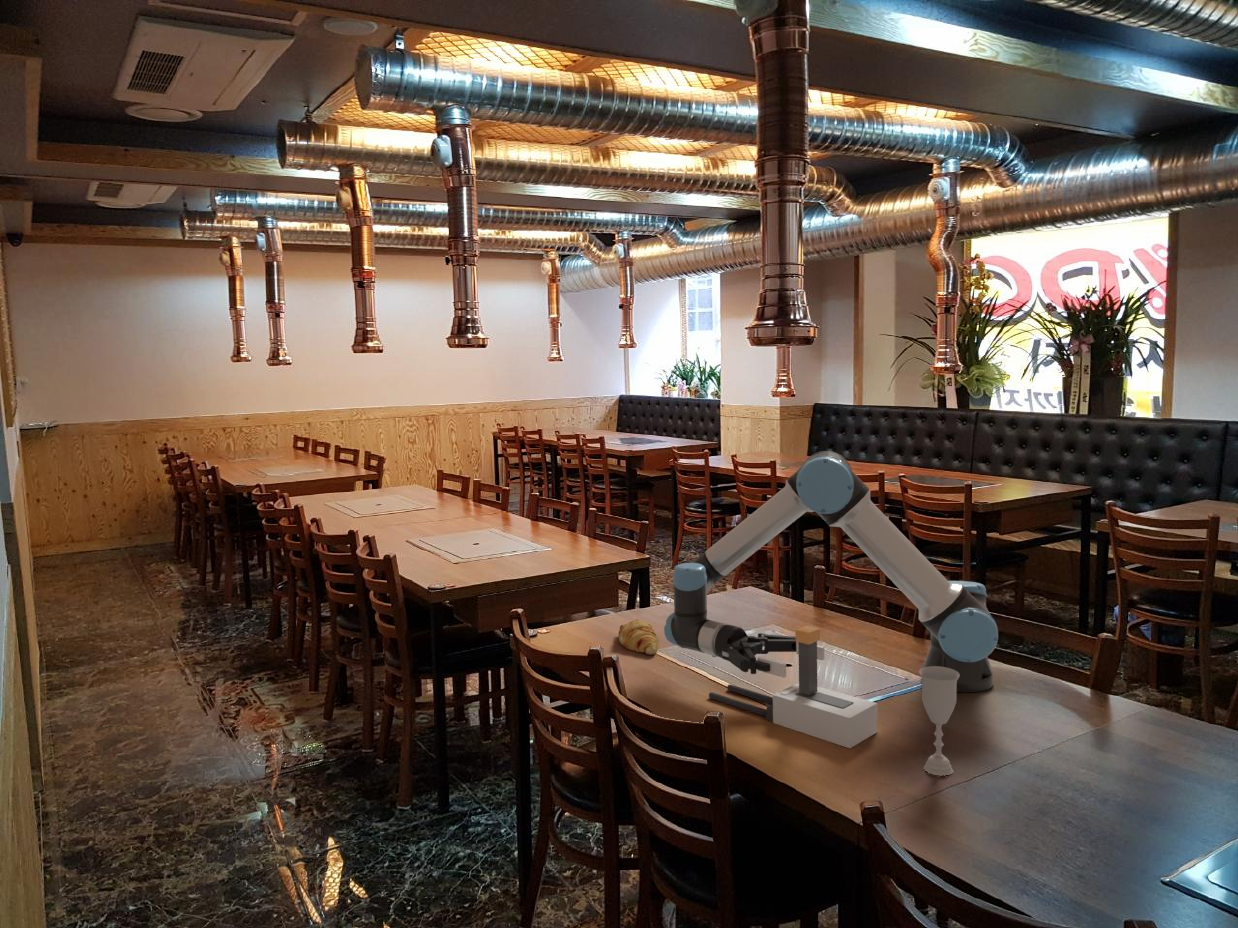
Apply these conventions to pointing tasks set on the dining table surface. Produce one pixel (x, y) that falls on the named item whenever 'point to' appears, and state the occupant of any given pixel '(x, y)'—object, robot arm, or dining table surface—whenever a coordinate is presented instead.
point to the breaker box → (826, 715)
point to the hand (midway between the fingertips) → (804, 661)
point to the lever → (807, 658)
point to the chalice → (939, 710)
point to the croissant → (639, 637)
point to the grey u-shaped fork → (745, 706)
